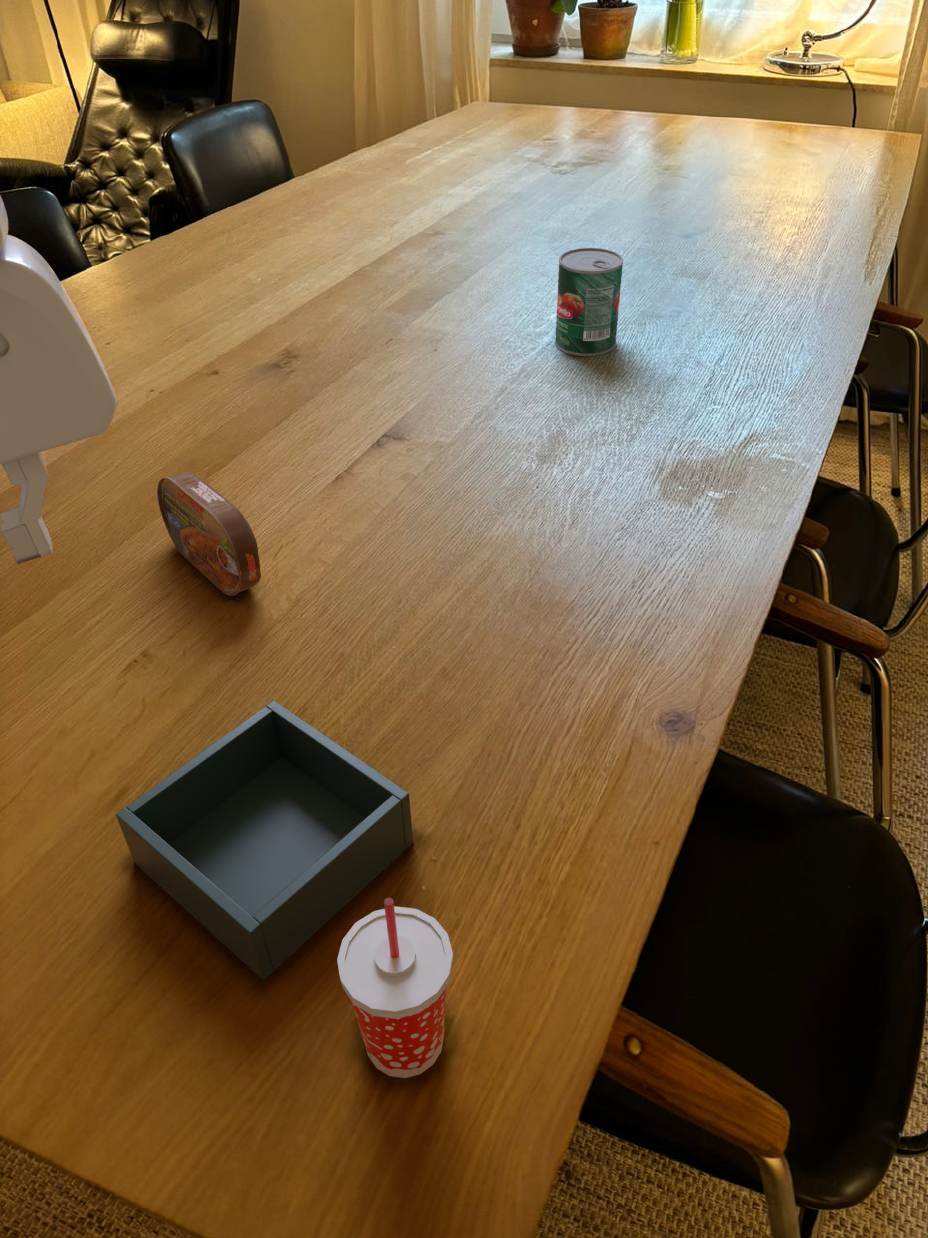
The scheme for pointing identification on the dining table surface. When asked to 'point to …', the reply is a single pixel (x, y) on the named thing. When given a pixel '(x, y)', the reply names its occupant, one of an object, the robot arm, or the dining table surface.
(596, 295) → the canned tomato
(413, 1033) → the beverage cup
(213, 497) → the tin
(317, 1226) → the dining table surface
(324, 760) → the bin
